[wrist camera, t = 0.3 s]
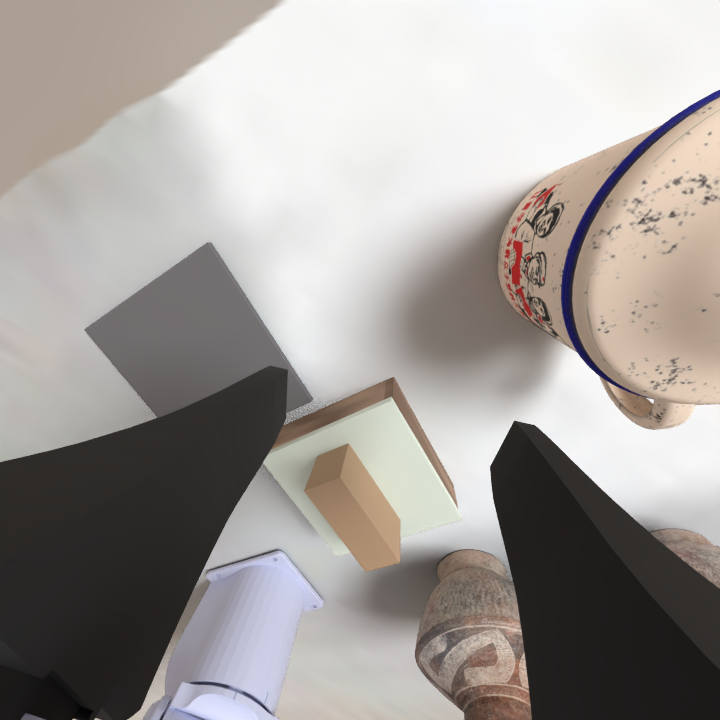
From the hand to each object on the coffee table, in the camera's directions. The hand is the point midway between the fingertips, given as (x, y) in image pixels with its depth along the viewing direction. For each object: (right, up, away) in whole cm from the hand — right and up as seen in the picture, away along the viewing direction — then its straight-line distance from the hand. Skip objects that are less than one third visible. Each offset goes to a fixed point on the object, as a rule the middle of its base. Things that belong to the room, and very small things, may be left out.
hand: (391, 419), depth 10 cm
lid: (-1, -7, +11) cm, 13 cm away
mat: (-12, +2, +12) cm, 18 cm away
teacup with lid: (+11, +7, +8) cm, 15 cm away
